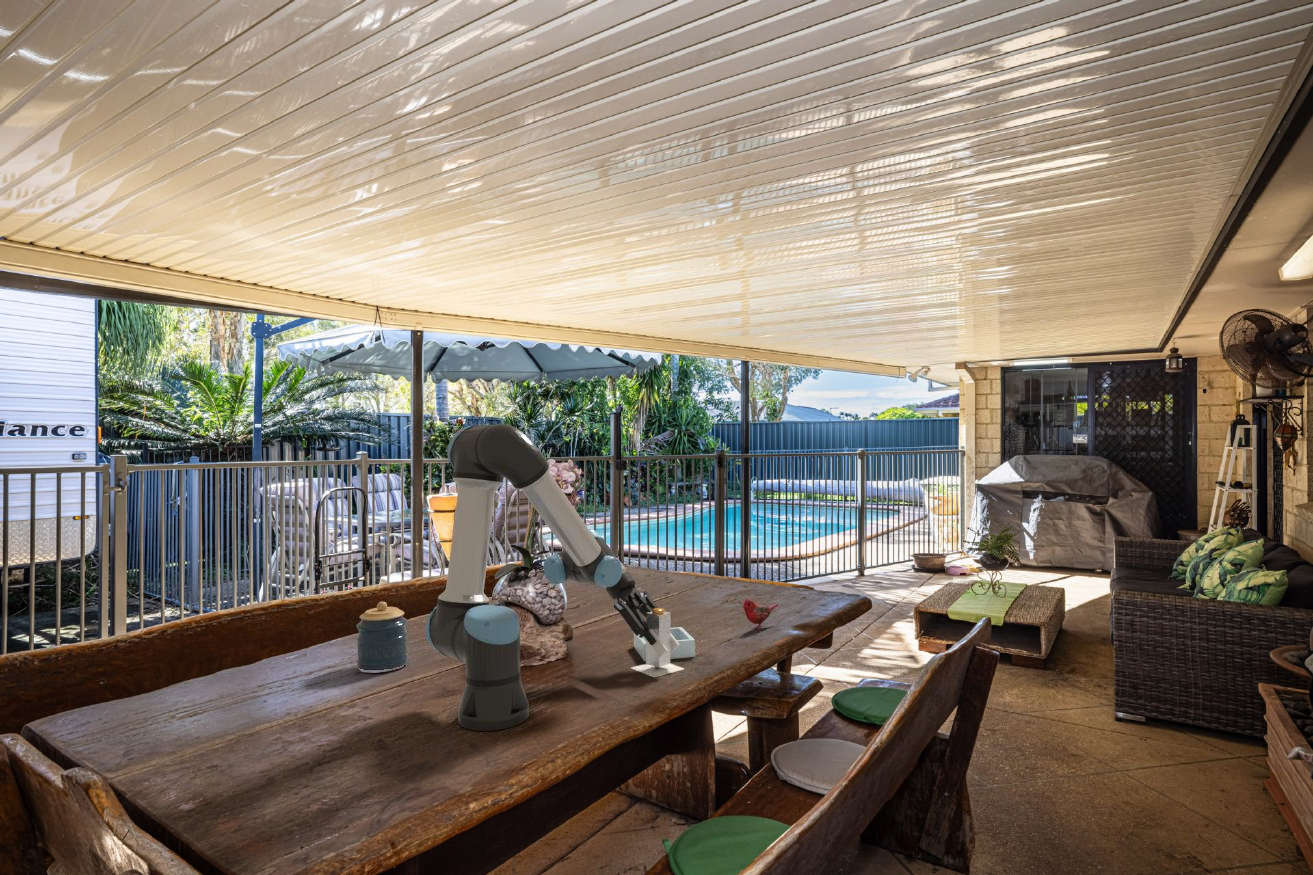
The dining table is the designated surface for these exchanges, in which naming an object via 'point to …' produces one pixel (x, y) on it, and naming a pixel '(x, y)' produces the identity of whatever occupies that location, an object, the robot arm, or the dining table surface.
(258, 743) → the dining table surface
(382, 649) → the canister
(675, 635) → the bin
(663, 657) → the strut
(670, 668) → the stud base
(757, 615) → the decorative bird figurine
